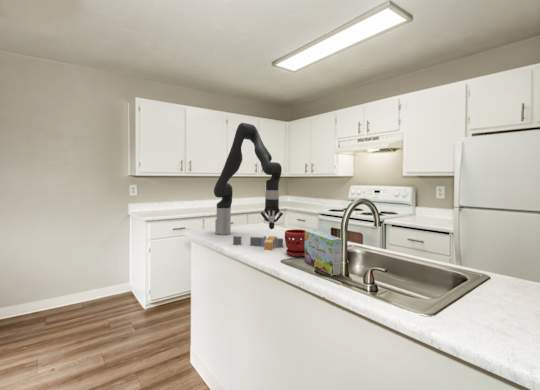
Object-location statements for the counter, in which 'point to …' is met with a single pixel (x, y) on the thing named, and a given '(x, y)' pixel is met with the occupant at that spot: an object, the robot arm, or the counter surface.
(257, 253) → the counter surface
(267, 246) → the banded orange pillar
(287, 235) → the plant pot
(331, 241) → the snack box
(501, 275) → the counter surface
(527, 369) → the counter surface
